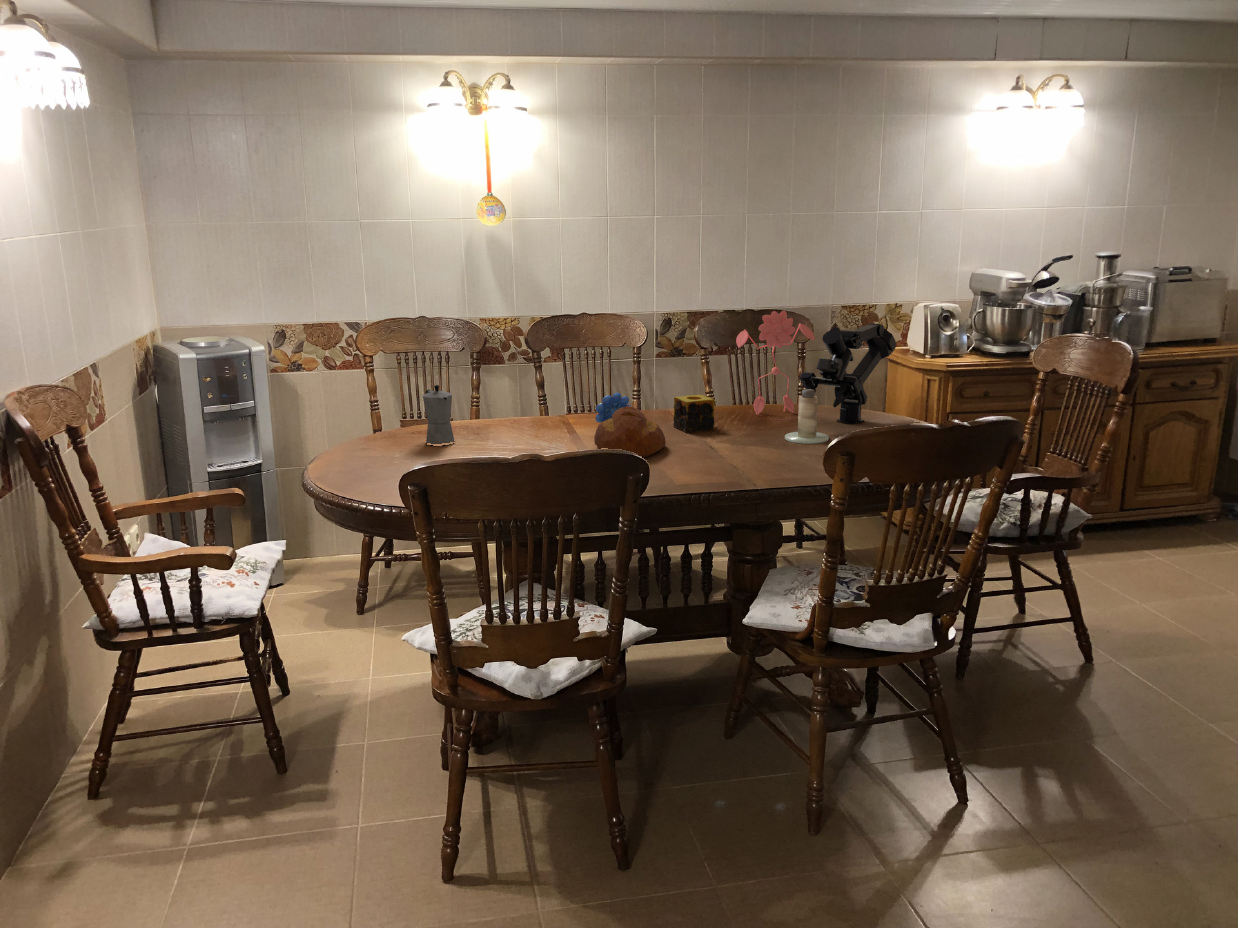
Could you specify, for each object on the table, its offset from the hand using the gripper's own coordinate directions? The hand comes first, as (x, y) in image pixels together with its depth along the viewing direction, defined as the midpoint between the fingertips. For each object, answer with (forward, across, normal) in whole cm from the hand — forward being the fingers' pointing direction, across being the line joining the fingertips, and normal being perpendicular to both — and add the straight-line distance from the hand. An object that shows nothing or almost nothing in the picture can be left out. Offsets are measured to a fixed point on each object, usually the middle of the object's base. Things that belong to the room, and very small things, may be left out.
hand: (820, 405), depth 300 cm
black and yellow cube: (+17, -36, -4) cm, 41 cm away
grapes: (+28, -57, -15) cm, 65 cm away
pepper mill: (+11, 0, 0) cm, 11 cm away
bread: (+40, -37, -27) cm, 61 cm away
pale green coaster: (+12, 0, +1) cm, 12 cm away
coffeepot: (+59, -90, -46) cm, 117 cm away
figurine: (-4, -24, +18) cm, 30 cm away
